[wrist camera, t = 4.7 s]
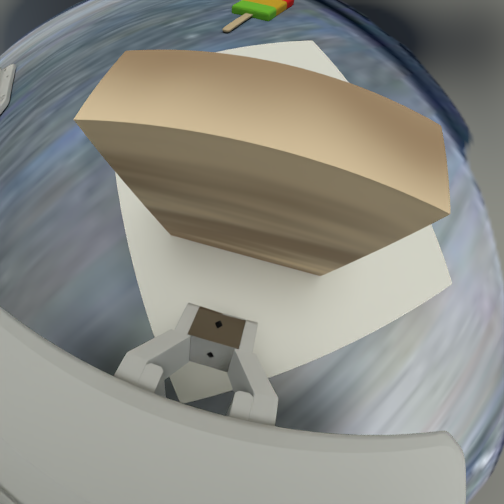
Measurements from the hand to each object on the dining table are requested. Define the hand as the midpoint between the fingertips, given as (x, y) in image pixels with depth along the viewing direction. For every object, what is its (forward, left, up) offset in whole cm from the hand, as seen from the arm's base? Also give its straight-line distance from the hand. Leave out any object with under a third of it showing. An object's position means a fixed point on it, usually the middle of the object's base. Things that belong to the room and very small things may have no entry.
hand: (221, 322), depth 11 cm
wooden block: (-5, +3, -5) cm, 8 cm away
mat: (-9, +6, -6) cm, 13 cm away
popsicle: (-34, +14, -7) cm, 37 cm away
